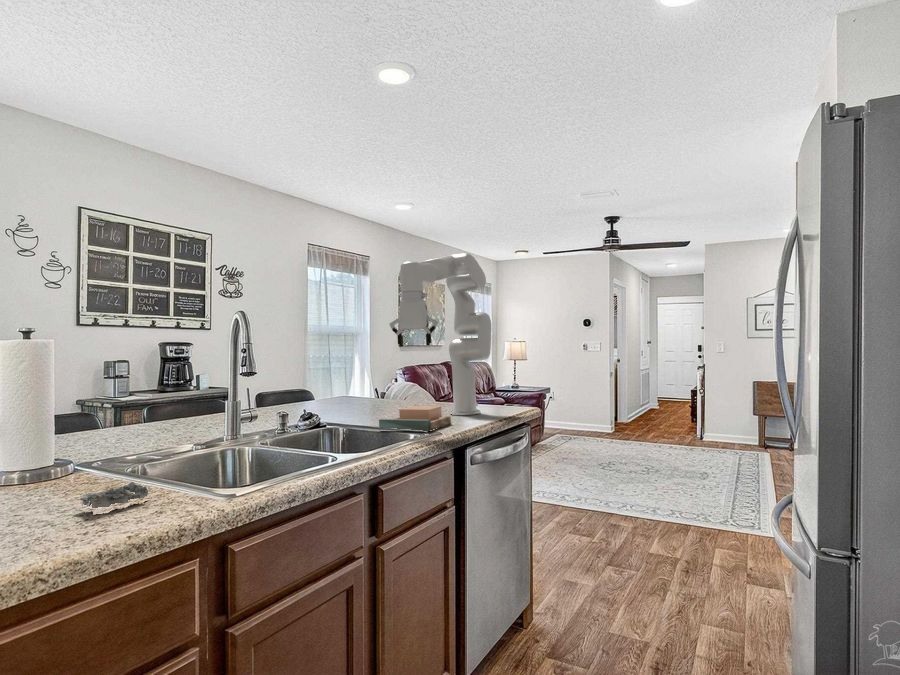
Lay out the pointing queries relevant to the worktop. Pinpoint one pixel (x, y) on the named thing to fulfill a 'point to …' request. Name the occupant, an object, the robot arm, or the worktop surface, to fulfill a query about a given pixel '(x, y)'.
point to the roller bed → (414, 423)
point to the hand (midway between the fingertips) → (414, 345)
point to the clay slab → (421, 412)
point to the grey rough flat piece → (115, 495)
